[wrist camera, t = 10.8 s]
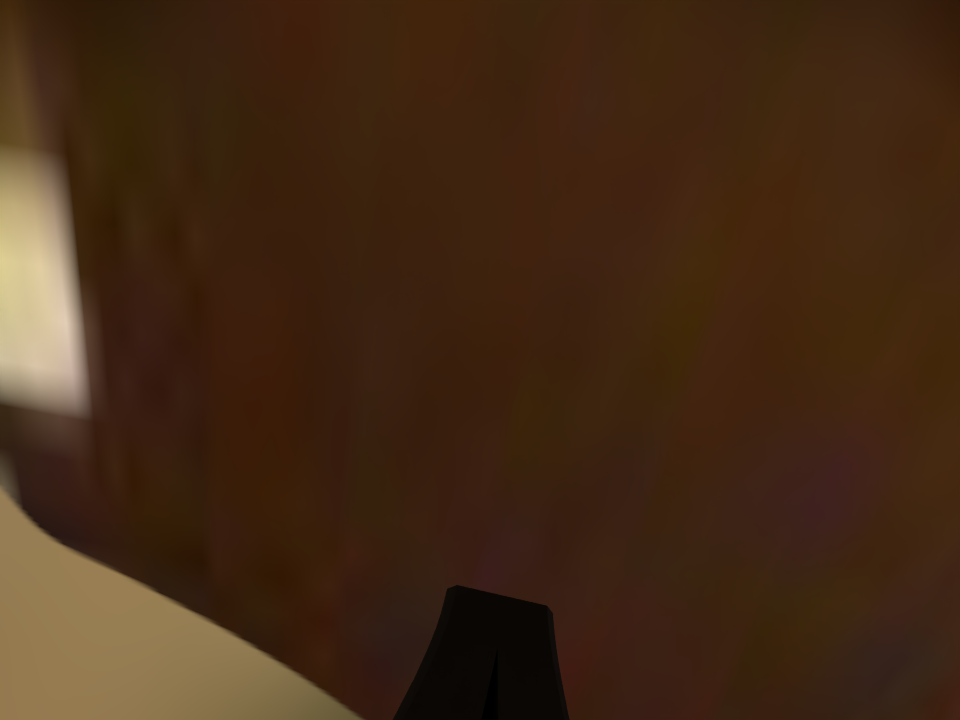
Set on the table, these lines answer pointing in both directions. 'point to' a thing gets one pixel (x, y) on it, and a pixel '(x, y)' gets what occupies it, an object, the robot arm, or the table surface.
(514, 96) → the table surface
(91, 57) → the table surface
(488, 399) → the table surface
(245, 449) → the table surface
